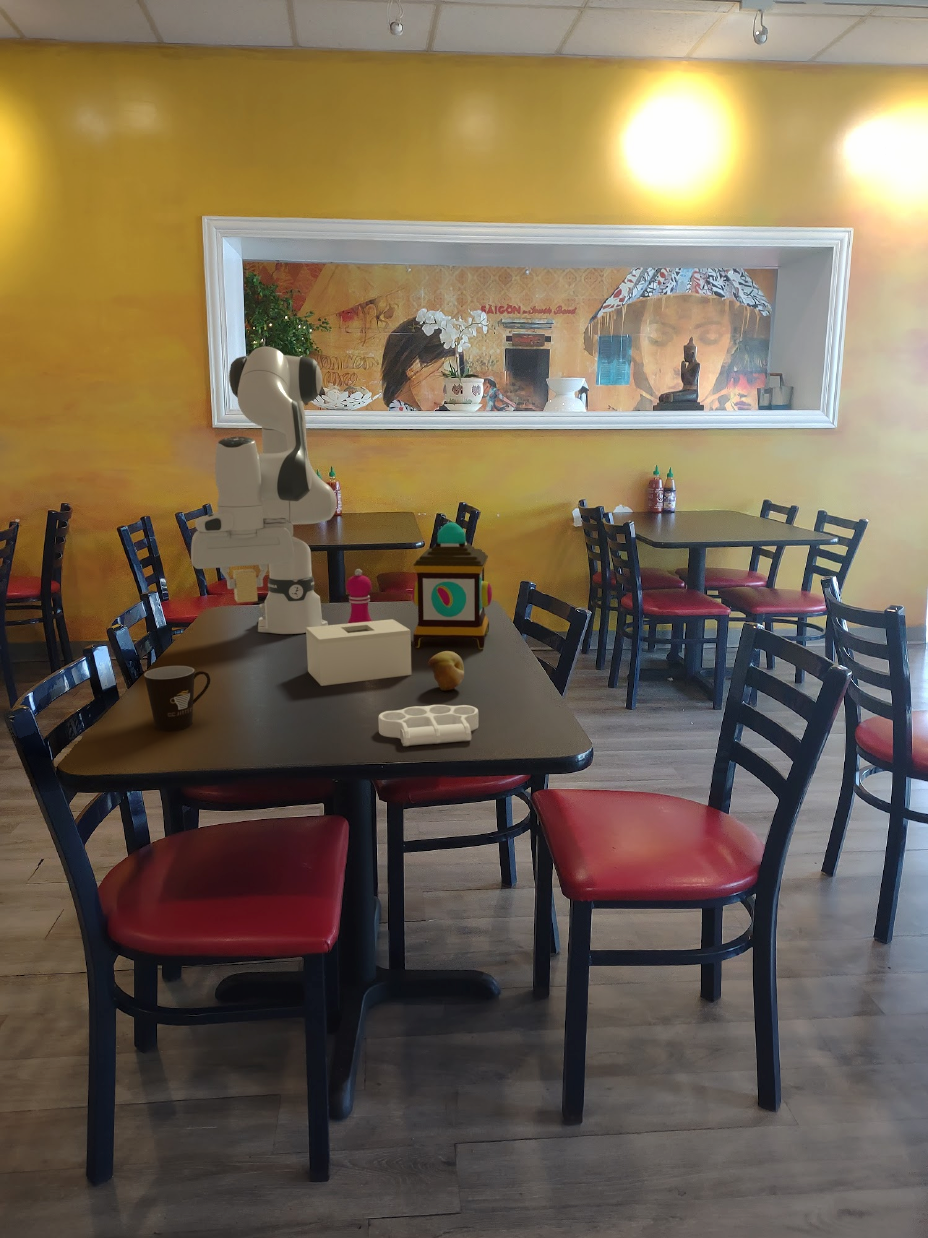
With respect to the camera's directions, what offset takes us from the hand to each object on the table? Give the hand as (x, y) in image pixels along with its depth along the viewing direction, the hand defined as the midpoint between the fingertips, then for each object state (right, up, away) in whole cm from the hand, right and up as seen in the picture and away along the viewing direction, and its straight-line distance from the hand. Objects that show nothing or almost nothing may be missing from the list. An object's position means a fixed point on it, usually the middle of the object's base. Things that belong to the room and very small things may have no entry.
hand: (245, 587), depth 175 cm
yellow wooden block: (0, -3, +1) cm, 3 cm away
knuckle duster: (+39, -27, -23) cm, 53 cm away
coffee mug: (-7, -26, -19) cm, 33 cm away
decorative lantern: (+42, -12, +42) cm, 61 cm away
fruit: (+41, -21, +1) cm, 46 cm away
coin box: (+22, -18, +13) cm, 31 cm away
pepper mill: (+20, -14, +33) cm, 41 cm away
